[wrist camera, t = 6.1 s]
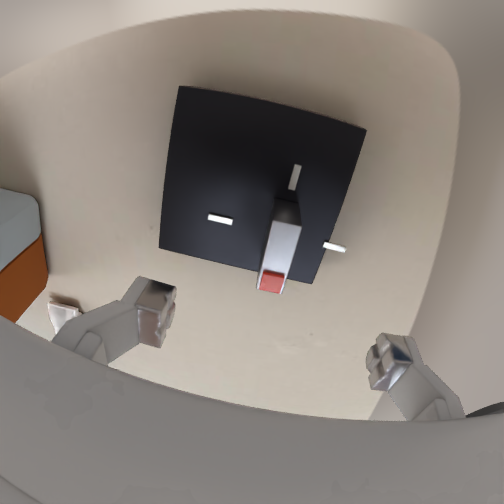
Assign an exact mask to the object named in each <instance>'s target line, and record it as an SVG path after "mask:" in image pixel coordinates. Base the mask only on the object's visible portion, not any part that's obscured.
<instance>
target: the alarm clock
mask: <svg viewBox="0 0 504 504" xmlns="http://www.w3.org/2000/svg"><path fill="white" fill-rule="evenodd" d="M40 232H41V226H40V217H39V206H38V203H37V202H36V200H35V199H34V198H33V197H32V196H31V195H27V194H22V193H18V192H14V191H10V190H6V189H2V188H0V315H1V316H3V317H4V318H6V319H8V320H10V321H12V322H13V323H15V322H16V321H17V320H18V319H19V318H20V316H21V315H22V314H23V313H24V312H25V310H26V309H27V308H28V307H29V306H30V305H31V303H32V302H33V301H34V300H35V299H36V298H37V296H38V295H39V294H40V293H41V292H42V291H43V290H44V289H45V287H46V283H47V280H48V271H47V266H46V260H45V254H44V248H43V241H42V234H41V233H40Z"/></svg>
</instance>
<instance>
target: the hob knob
mask: <svg viewBox="0 0 504 504" xmlns="http://www.w3.org/2000/svg"><path fill="white" fill-rule="evenodd" d="M301 230H302V222H301V215H300V208H299V204H298V203H294V202H289V201H285V200H280V199H276V198H275V199H274V201H273V206H272V210H271V214H270V218H269V223H268V227H267V231H266V235H265V239H264V244H263V248H262V252H261V256H260V261H259V269H258V276H257V284H256V289H259V290H264V291H269V292H274V293H279V294H282V292H283V289H284V286H285V282H286V279H287V276H288V273H289V270H290V266H291V263H292V260H293V257H294V253H295V250H296V247H297V243H298V240H299V237H300V233H301Z"/></svg>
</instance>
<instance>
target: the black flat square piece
mask: <svg viewBox="0 0 504 504" xmlns="http://www.w3.org/2000/svg"><path fill="white" fill-rule="evenodd" d="M366 131H367V130H366V129H364V128H362V127H360V126H357V125H354V124H351V123H348V122H345V121H342V120H339V119H336V118H333V117H330V116H327V115H323V114H320V113H316V112H313V111H309V110H306V109H302V108H299V107H295V106H291V105H287V104H283V103H279V102H275V101H270V100H266V99H261V98H257V97H252V96H247V95H242V94H237V93H232V92H226V91H220V90H214V89H208V88H201V87H194V86H179V89H178V94H177V99H176V105H175V111H174V117H173V123H172V129H171V136H170V143H169V150H168V157H167V165H166V173H165V182H164V191H163V201H162V211H161V223H160V236H159V248H161V249H165V250H169V251H173V252H177V253H181V254H185V255H189V256H193V257H197V258H201V259H206V260H210V261H214V262H218V263H222V264H226V265H231V266H235V267H239V268H243V269H247V270H252V271H256V272H258V269H259V261H260V256H261V252H262V248H263V244H264V239H265V235H266V231H267V227H268V223H269V218H270V214H271V210H272V206H273V201H274V199H275V198H276V199H280V200H285V201H289V202H294V203H298V204H299V208H300V215H301V222H302V230H301V233H300V237H299V240H298V243H297V247H296V250H295V253H294V257H293V260H292V263H291V266H290V270H289V273H288V276H287V279H291V280H295V281H299V282H304V283H308V284H312V283H313V280H314V278H315V275H316V273H317V270H318V268H319V265H320V263H321V260H322V258H323V255H324V253H325V250H326V248H328V249H332V250H336V251H340V252H345V250H346V246H342V245H338V244H334V243H331V242H329V240H330V237H331V234H332V232H333V229H334V226H335V224H336V221H337V218H338V215H339V213H340V210H341V207H342V204H343V201H344V199H345V196H346V193H347V190H348V187H349V184H350V181H351V178H352V175H353V172H354V169H355V166H356V163H357V160H358V157H359V154H360V151H361V148H362V144H363V141H364V138H365V135H366Z"/></svg>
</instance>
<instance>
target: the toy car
mask: <svg viewBox="0 0 504 504" xmlns="http://www.w3.org/2000/svg"><path fill="white" fill-rule="evenodd" d="M47 306H48V310H49V318H50V320H51V322H52V325H53V327H54V330H55V335H56V334H57V333H58V331H59V330H60V329H61V327H62V326H63V325H64V323H65V322H66V321H67V320H70V319H72V318H75V317H77V316H79V315H82V313H80V312H78V308H76V307H72V306H67V305H63V304H59V303H55V302H51V301H50V302H49V303H47Z"/></svg>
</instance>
